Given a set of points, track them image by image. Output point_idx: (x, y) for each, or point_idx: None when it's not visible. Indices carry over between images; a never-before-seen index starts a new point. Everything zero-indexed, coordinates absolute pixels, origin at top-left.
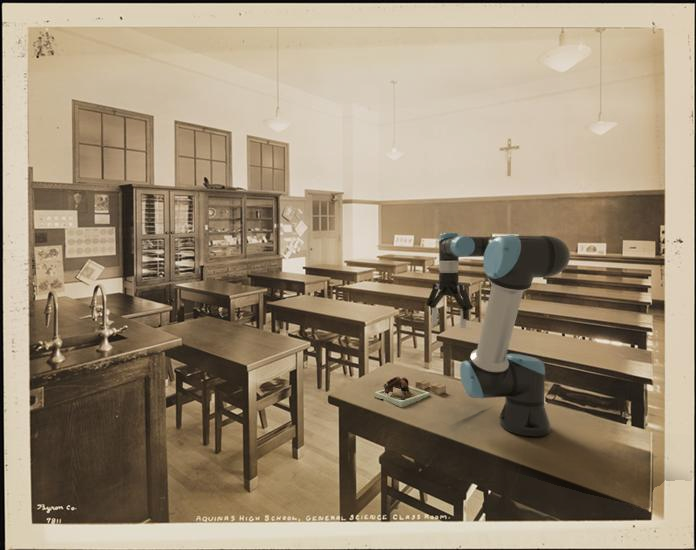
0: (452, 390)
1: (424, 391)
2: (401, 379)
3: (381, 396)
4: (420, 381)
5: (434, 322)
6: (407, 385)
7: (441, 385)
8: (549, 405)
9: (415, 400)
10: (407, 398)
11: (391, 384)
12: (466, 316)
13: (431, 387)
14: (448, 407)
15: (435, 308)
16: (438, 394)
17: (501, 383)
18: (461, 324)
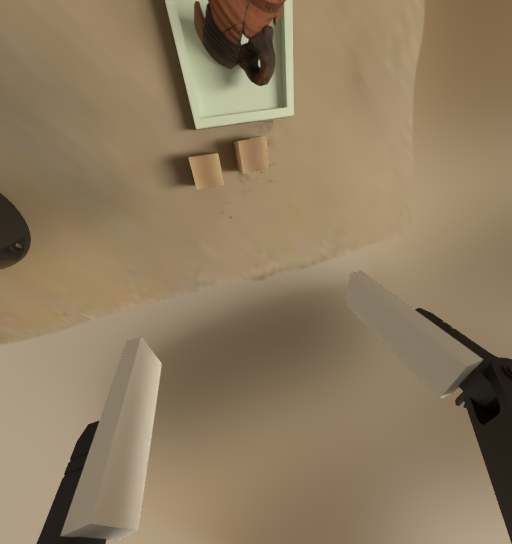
0: (219, 225)
1: (213, 122)
2: (244, 1)
3: None
4: (259, 151)
5: (354, 287)
6: (215, 20)
7: (202, 179)
8: (67, 324)
9: (174, 40)
10: (194, 17)
11: None
12: (76, 463)
13: (215, 153)
14: (104, 113)
15: (443, 378)
16: (190, 156)
17: None
18: (125, 361)
